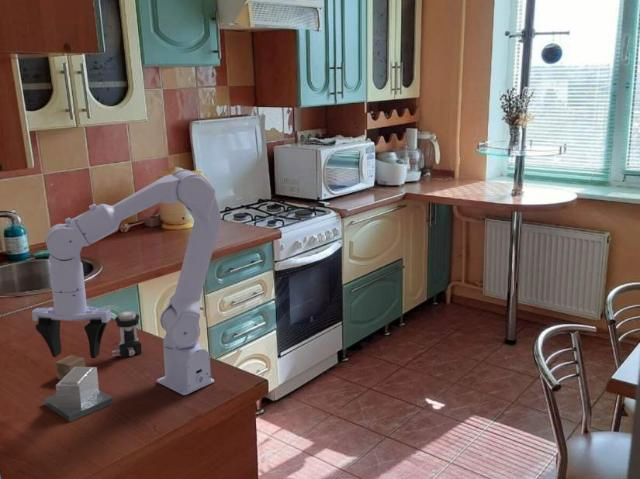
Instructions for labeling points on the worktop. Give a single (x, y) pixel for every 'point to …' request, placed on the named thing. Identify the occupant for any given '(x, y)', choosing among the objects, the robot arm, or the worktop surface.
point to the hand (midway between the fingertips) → (76, 355)
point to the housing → (77, 387)
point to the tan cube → (68, 365)
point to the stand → (70, 414)
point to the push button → (128, 334)
